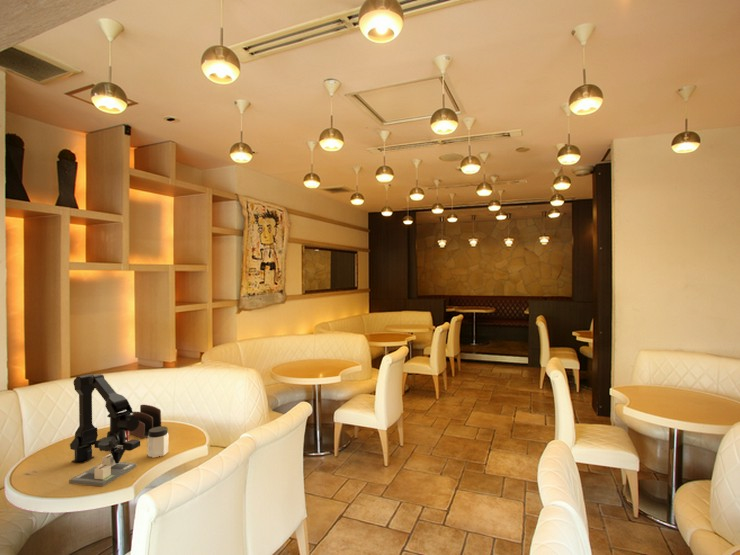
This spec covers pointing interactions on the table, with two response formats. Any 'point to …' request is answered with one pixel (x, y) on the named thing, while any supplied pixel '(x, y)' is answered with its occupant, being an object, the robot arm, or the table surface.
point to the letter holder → (146, 420)
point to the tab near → (102, 472)
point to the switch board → (88, 479)
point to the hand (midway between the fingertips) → (117, 463)
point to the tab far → (108, 460)
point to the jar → (157, 441)
